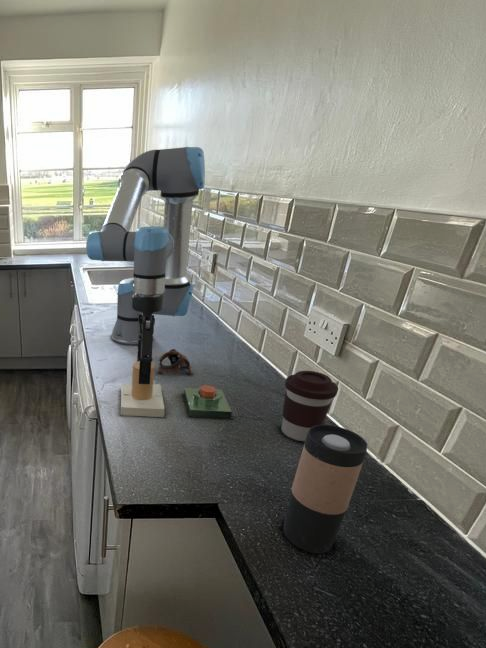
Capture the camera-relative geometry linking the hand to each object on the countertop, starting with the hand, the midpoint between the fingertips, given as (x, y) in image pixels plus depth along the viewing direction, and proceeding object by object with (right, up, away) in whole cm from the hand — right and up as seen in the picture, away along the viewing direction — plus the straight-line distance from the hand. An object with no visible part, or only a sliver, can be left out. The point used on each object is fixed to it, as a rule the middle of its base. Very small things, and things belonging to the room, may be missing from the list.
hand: (142, 372), depth 107 cm
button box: (+17, -9, +1) cm, 20 cm away
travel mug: (+19, -28, -39) cm, 51 cm away
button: (+17, -6, 0) cm, 18 cm away
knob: (0, -6, +3) cm, 7 cm away
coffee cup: (+34, -15, -12) cm, 39 cm away
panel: (0, -9, +4) cm, 10 cm away
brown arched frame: (+15, 0, +21) cm, 26 cm away
